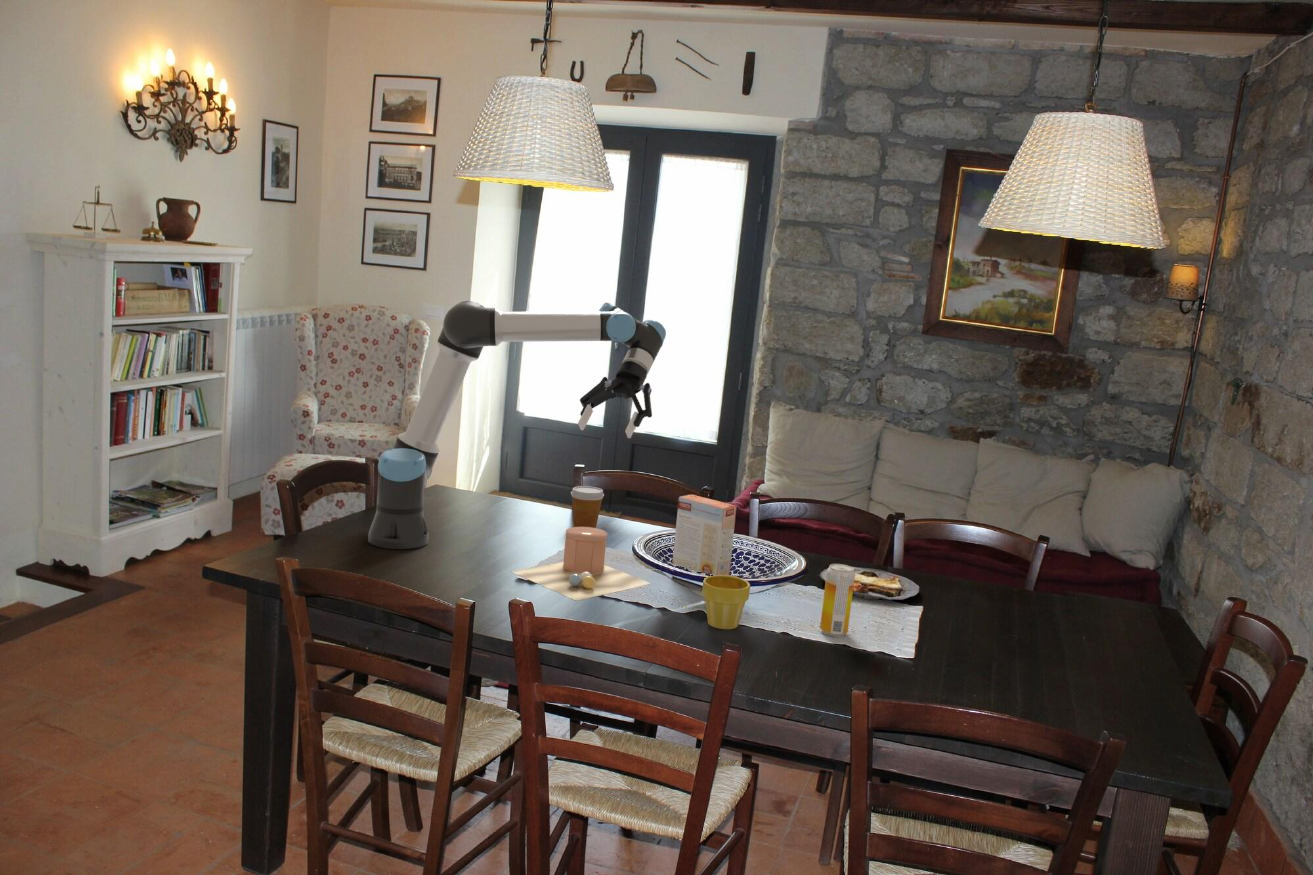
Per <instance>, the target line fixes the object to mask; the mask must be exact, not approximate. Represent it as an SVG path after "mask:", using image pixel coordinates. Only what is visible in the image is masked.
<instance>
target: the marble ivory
mask: <svg viewBox="0 0 1313 875" xmlns="http://www.w3.org/2000/svg"><path fill="white" fill-rule="evenodd" d="M580 576H581V578H582V581H583V579H584V577H586V576H591V577H592V575H591V574H590V573H589V572H583V573H581V575H580ZM581 583H582V582H581Z"/></svg>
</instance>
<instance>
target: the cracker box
mask: <svg viewBox="0 0 1313 875" xmlns="http://www.w3.org/2000/svg"><path fill="white" fill-rule="evenodd" d="M736 515H737V505H735V504H731V503H727V502H723V501H719V500H715V499H711V498H707V497H703V496H698V495H696V494H686V495H682V496H681V495H680V496H679V497H678V503H677V514H676V524H675V525H676V526H675V533H674V545H673V554H672V562H671V563H672V564H676V565H678V566H681V567H684V568H687V569H688V570H694V571H696V572H702V573H707V574H713V575H727V576H730V573H731V572H730V571H731V565H732V564H731V563H732V552H733V543H734V534H735V524H736Z"/></svg>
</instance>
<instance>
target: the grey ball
mask: <svg viewBox="0 0 1313 875" xmlns="http://www.w3.org/2000/svg"><path fill="white" fill-rule="evenodd" d="M581 582H582V578H581V576H580V575H579V574H572V575H571V576H570V577H569V583H570V584H571V585H572V586H574V587H576V586H579V585H580V584H581Z"/></svg>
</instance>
